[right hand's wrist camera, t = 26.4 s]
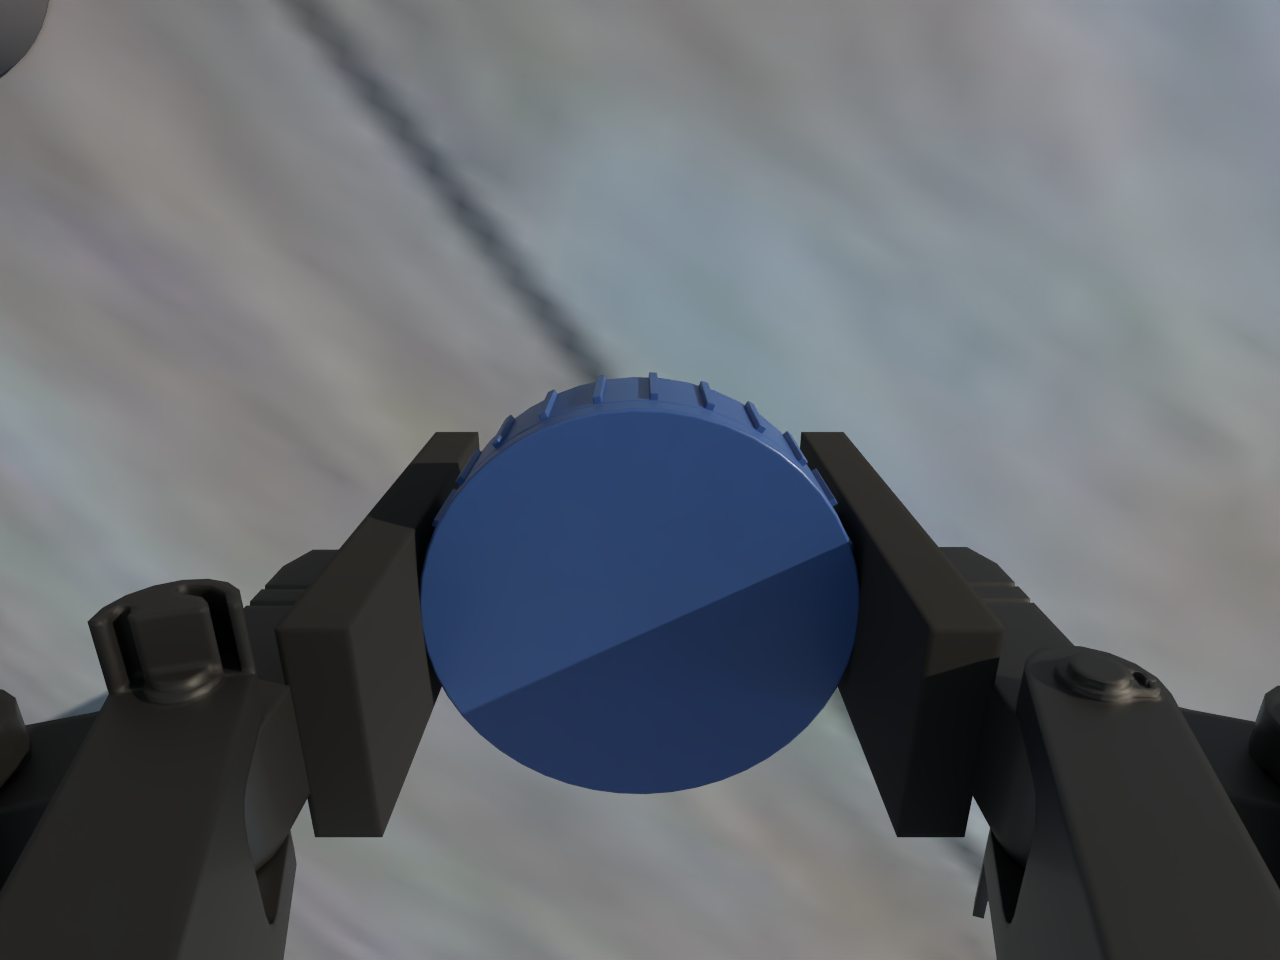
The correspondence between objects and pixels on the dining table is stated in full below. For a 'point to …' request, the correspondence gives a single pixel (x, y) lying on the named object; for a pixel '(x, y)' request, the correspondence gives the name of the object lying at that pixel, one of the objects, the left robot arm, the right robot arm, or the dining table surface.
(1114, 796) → the right robot arm
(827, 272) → the dining table surface
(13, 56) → the jar
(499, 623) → the lid
